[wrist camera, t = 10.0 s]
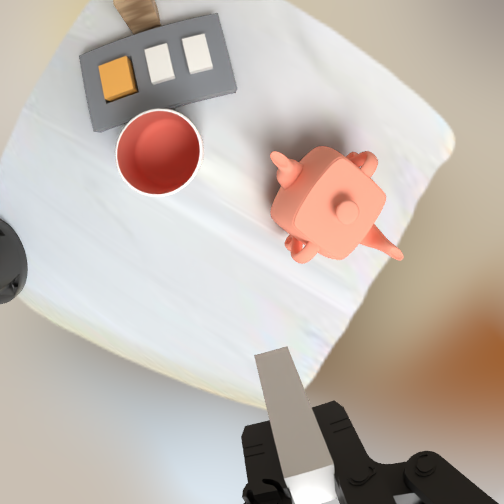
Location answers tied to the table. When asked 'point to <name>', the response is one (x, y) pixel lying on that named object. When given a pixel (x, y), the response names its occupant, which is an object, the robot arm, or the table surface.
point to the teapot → (329, 204)
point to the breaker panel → (143, 79)
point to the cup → (159, 152)
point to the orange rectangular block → (118, 79)
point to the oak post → (138, 14)
